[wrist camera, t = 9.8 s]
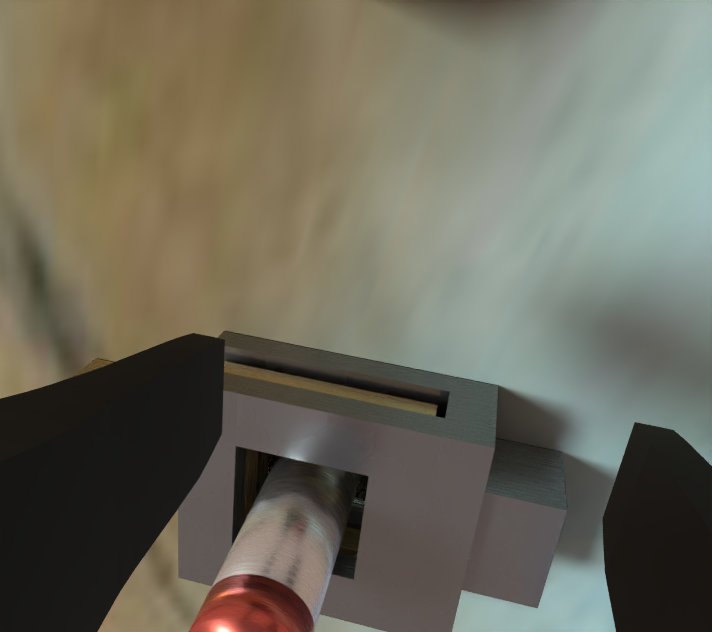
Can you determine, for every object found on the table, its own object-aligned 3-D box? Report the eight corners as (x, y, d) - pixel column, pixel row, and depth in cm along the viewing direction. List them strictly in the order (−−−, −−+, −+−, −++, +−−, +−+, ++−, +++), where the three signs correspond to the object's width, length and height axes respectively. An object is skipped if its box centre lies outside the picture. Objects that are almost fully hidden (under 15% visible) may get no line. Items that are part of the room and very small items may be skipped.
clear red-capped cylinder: (381, 468, 25) (323, 690, 17) (316, 499, 26) (232, 721, 18) (333, 405, 24) (247, 604, 16) (269, 439, 25) (159, 642, 17)
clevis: (576, 401, 22) (586, 467, 19) (523, 584, 25) (524, 667, 22) (92, 304, 24) (28, 348, 21) (103, 482, 28) (49, 543, 25)
